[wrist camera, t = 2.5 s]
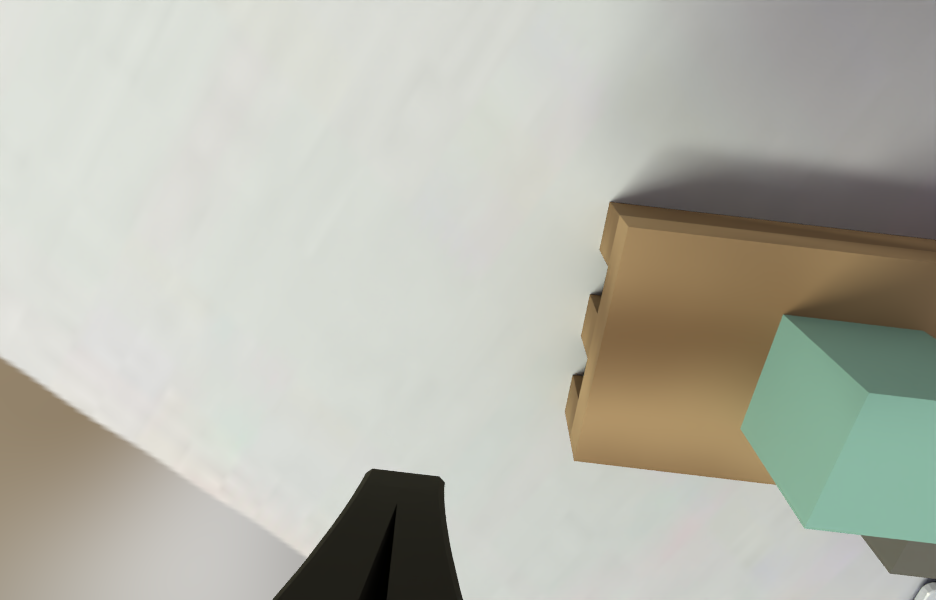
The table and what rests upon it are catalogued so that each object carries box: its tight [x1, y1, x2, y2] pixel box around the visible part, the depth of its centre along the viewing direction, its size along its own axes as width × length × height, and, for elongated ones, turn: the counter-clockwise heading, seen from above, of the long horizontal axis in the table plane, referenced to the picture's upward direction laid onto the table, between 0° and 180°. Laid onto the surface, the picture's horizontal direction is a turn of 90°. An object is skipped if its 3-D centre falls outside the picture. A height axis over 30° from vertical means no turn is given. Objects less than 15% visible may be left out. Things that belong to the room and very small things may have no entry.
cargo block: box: [740, 314, 936, 544], centre depth 15 cm, size 4×4×4 cm
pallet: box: [565, 202, 936, 485], centre depth 18 cm, size 8×12×3 cm, turn 84°
